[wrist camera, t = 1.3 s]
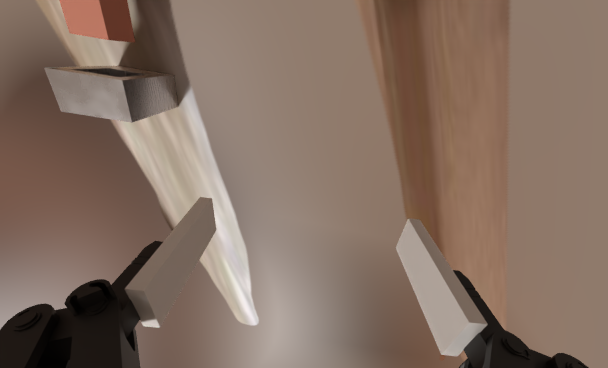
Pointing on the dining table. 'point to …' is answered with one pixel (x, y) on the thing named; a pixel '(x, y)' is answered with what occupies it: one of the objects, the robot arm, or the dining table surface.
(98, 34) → the pink square post
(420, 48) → the dining table surface
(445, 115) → the dining table surface
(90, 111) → the socket
